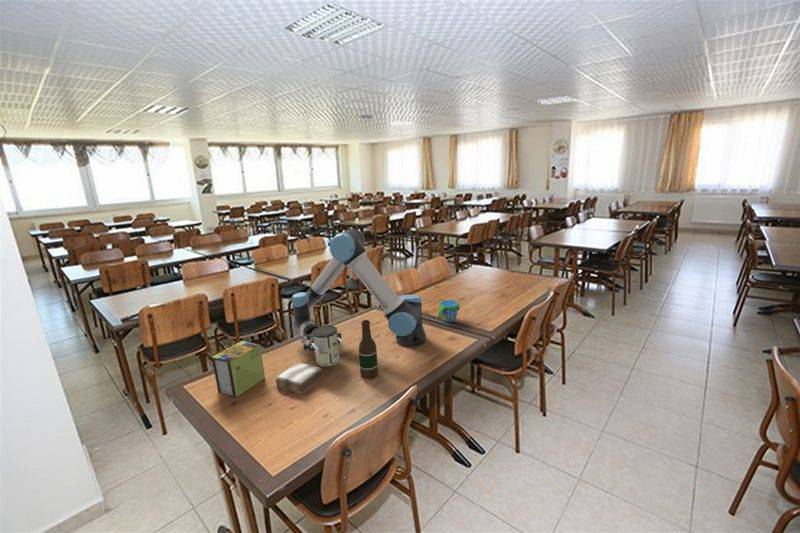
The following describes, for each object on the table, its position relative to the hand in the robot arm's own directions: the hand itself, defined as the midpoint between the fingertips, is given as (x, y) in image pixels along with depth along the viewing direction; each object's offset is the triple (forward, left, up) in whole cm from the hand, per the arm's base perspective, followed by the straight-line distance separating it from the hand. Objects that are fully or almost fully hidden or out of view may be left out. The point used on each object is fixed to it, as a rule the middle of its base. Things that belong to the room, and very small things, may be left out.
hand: (330, 347), depth 156 cm
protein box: (+30, +22, -12) cm, 38 cm away
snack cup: (-28, -70, -12) cm, 77 cm away
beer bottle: (-15, -4, -12) cm, 20 cm away
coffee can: (+4, -2, -8) cm, 9 cm away
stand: (+8, +12, -11) cm, 18 cm away
